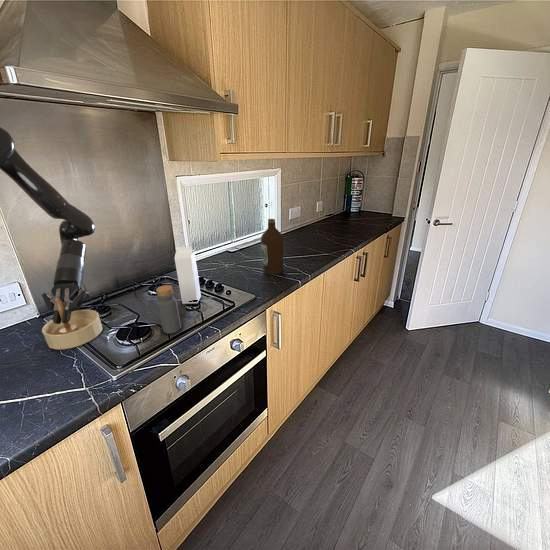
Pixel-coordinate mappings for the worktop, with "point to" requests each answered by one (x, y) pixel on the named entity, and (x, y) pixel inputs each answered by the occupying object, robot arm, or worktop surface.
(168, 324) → the bottle
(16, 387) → the worktop surface
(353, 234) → the worktop surface
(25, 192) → the robot arm
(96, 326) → the bowl
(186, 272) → the milk
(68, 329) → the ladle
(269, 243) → the olive oil
